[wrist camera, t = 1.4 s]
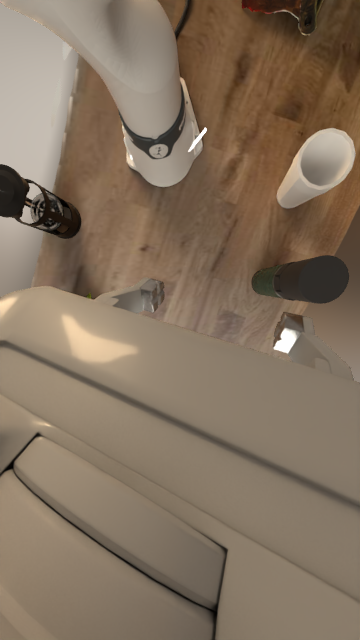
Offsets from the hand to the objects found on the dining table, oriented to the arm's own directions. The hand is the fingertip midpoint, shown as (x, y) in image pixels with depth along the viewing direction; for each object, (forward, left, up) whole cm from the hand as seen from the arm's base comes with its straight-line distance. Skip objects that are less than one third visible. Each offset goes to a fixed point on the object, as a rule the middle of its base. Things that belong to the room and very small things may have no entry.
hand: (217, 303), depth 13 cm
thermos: (0, +16, -40) cm, 43 cm away
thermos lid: (0, +16, -25) cm, 30 cm away
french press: (-24, -36, -40) cm, 59 cm away
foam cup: (-20, +23, -40) cm, 50 cm away
